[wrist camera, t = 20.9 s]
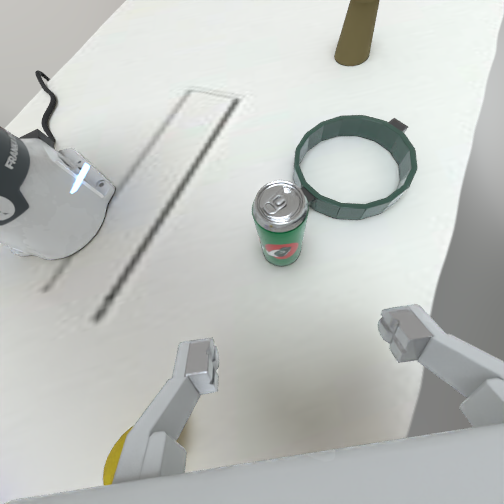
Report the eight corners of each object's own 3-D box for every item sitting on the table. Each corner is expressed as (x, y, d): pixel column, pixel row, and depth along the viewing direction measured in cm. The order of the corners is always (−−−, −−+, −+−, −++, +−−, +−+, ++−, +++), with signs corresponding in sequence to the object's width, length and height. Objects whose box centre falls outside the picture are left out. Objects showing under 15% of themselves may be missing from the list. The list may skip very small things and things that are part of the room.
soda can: (308, 251, 29) (323, 203, 18) (278, 274, 29) (275, 240, 17) (284, 225, 31) (283, 166, 20) (255, 247, 30) (238, 199, 19)
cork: (372, 45, 40) (402, -52, 30) (364, 67, 39) (393, -27, 28) (339, 42, 42) (357, -51, 31) (330, 64, 40) (345, -27, 30)
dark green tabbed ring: (266, 176, 34) (264, 162, 31) (353, 112, 36) (359, 94, 33) (338, 247, 29) (344, 238, 26) (437, 168, 30) (452, 152, 28)
